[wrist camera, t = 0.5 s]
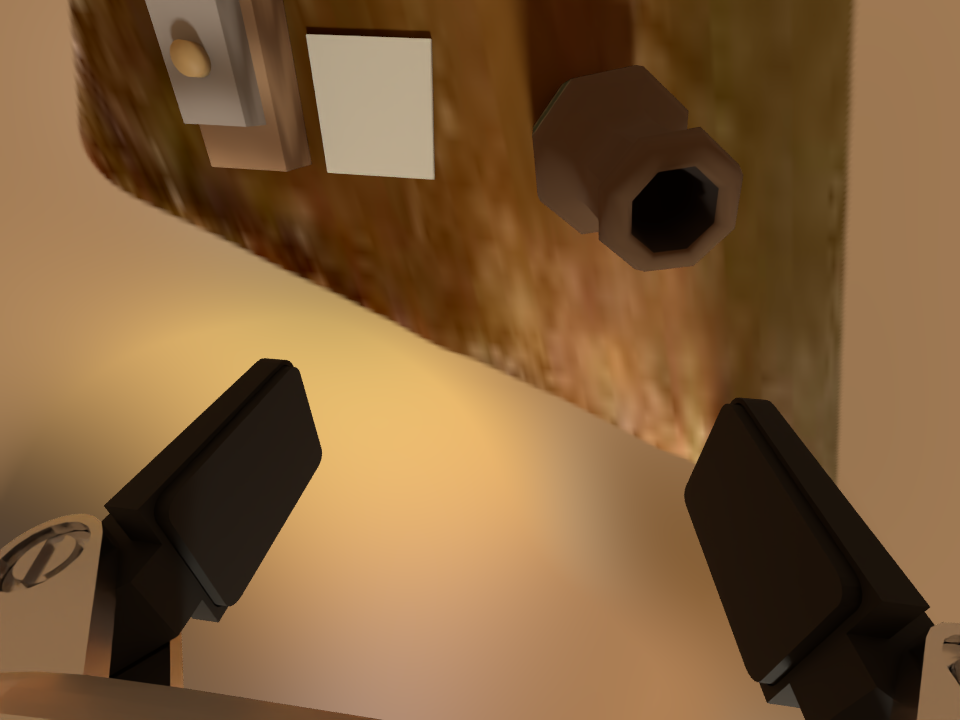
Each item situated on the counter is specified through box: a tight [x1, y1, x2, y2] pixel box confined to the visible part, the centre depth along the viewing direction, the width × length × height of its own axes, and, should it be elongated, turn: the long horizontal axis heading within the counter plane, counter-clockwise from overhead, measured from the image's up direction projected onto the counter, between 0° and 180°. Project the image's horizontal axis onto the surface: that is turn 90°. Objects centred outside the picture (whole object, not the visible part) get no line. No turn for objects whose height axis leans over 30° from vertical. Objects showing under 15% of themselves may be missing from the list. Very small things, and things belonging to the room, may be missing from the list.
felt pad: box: [306, 34, 435, 179], centre depth 31 cm, size 9×9×1 cm
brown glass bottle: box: [532, 65, 743, 272], centre depth 20 cm, size 8×8×24 cm
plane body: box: [145, 0, 311, 171], centre depth 26 cm, size 18×6×7 cm, turn 178°
